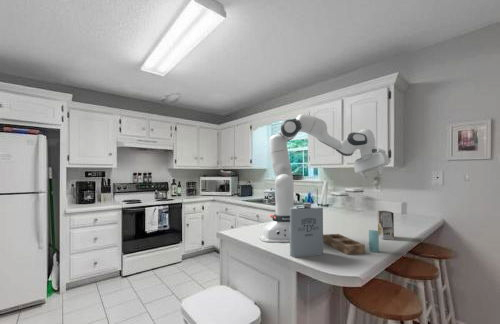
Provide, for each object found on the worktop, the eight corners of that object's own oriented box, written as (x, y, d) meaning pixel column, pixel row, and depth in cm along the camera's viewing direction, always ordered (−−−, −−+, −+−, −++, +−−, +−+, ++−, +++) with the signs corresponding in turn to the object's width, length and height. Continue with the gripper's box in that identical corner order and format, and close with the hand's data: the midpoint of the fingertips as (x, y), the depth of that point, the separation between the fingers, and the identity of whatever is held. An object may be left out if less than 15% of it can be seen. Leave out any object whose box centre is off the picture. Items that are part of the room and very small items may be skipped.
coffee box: (394, 240, 139) (394, 212, 140) (382, 239, 140) (382, 212, 141) (388, 236, 148) (388, 210, 149) (377, 235, 149) (377, 210, 150)
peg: (373, 252, 116) (373, 232, 116) (367, 249, 120) (366, 230, 121) (380, 252, 117) (380, 232, 117) (374, 249, 121) (374, 229, 122)
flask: (293, 258, 108) (293, 203, 109) (288, 254, 112) (288, 202, 113) (325, 254, 113) (325, 202, 114) (320, 251, 117) (319, 201, 119)
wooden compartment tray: (347, 254, 113) (347, 246, 113) (323, 241, 134) (323, 234, 134) (364, 253, 115) (364, 245, 115) (338, 240, 137) (338, 233, 137)
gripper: (350, 159, 146) (353, 180, 140) (381, 147, 129) (385, 170, 124) (357, 161, 148) (360, 182, 143) (388, 150, 131) (392, 173, 126)
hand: (372, 176), depth 133 cm, fingers open, 8 cm apart
